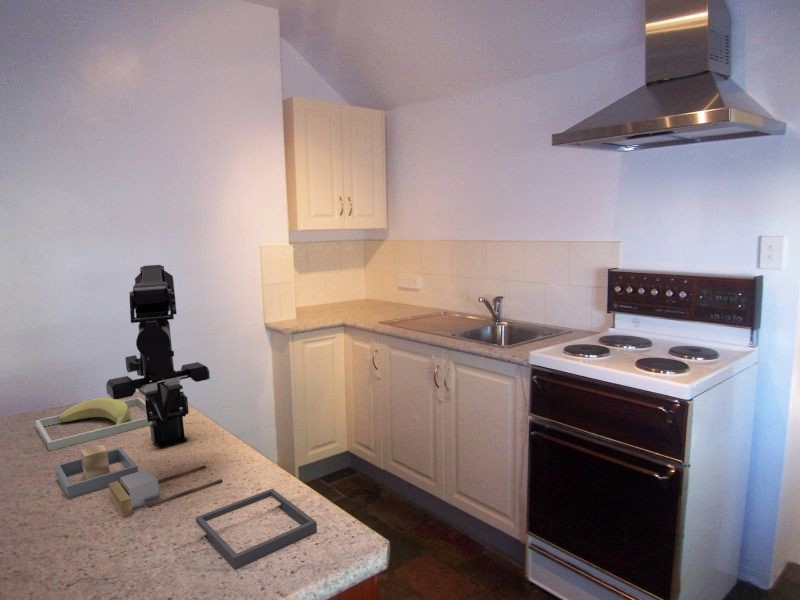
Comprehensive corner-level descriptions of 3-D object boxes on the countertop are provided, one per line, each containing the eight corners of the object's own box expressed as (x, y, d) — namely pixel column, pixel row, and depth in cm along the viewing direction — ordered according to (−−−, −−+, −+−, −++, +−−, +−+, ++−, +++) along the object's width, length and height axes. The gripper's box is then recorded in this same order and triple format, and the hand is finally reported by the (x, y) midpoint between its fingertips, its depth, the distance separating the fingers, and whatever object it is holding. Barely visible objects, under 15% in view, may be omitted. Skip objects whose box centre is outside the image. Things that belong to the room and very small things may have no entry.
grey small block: (149, 488, 109) (147, 468, 108) (159, 499, 104) (157, 479, 103) (122, 497, 105) (119, 477, 105) (131, 509, 101) (128, 488, 100)
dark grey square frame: (273, 498, 106) (272, 488, 105) (317, 532, 94) (316, 521, 94) (196, 527, 96) (195, 517, 96) (234, 570, 85) (233, 558, 84)
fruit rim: (140, 403, 161) (139, 397, 161) (162, 421, 147) (161, 414, 146) (36, 427, 145) (35, 420, 145) (49, 450, 130) (48, 442, 130)
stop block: (105, 471, 117) (102, 444, 116) (110, 478, 114) (107, 450, 113) (84, 477, 114) (80, 450, 114) (88, 484, 111) (85, 456, 111)
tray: (122, 462, 123) (120, 447, 123) (139, 482, 114) (137, 466, 113) (56, 481, 115) (54, 465, 115) (69, 504, 106) (66, 487, 105)
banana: (105, 384, 155) (136, 408, 142) (112, 401, 157) (143, 425, 144) (53, 409, 146) (81, 437, 133) (61, 426, 149) (89, 455, 136)
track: (205, 472, 117) (203, 454, 117) (223, 487, 110) (221, 468, 110) (94, 508, 104) (92, 488, 103) (106, 528, 97) (104, 507, 96)
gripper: (188, 332, 124) (194, 399, 127) (95, 347, 112) (104, 421, 115) (207, 340, 116) (213, 412, 118) (109, 357, 104) (118, 436, 107)
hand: (163, 419), depth 115 cm, fingers closed
